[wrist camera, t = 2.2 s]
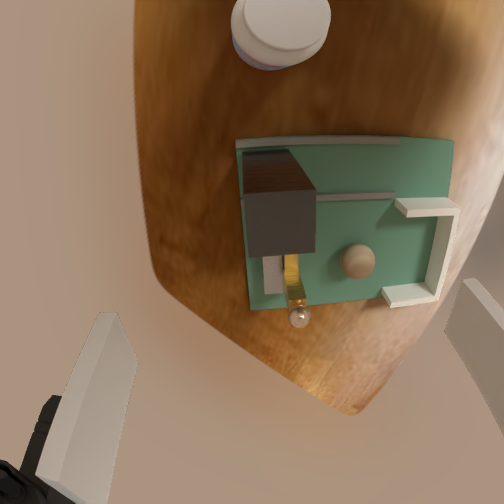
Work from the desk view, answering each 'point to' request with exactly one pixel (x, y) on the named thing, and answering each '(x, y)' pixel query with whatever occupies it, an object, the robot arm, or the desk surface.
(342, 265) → the ball
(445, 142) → the board
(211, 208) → the desk surface
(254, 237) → the block
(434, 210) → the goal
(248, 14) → the pill bottle
